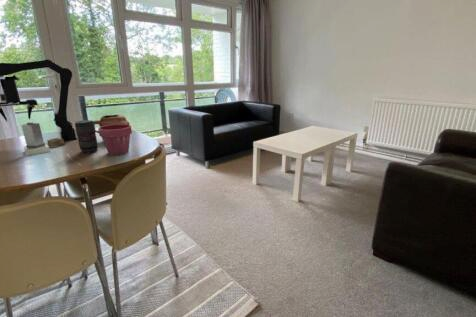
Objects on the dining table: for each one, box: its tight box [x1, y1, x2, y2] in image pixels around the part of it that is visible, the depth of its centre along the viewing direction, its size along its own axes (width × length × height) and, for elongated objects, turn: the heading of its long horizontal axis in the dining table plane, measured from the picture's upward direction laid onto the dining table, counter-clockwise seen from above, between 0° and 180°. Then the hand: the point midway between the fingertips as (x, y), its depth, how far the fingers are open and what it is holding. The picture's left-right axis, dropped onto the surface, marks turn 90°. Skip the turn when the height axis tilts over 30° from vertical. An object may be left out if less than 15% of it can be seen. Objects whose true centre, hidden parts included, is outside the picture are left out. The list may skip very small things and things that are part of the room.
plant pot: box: [97, 124, 133, 156], centre depth 126 cm, size 14×14×13 cm
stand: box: [23, 142, 51, 156], centre depth 128 cm, size 9×9×3 cm
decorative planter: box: [92, 114, 130, 134], centre depth 147 cm, size 20×12×14 cm, turn 128°
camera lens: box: [74, 119, 99, 154], centre depth 127 cm, size 8×8×15 cm
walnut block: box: [47, 137, 65, 148], centre depth 138 cm, size 5×5×4 cm
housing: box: [20, 122, 46, 148], centre depth 126 cm, size 5×5×12 cm
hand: (18, 120), depth 136 cm, fingers open, 9 cm apart
